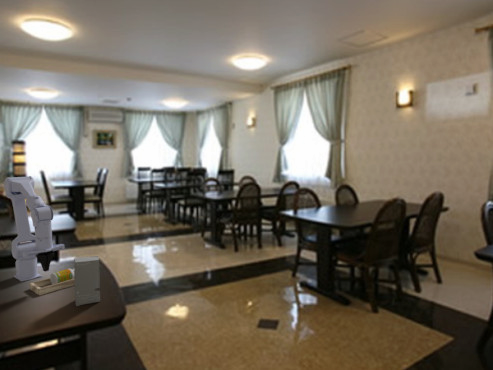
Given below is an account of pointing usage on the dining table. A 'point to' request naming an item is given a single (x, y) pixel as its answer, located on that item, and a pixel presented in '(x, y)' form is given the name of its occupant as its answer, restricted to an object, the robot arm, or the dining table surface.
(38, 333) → the dining table surface
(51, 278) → the supplement bottle
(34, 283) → the tray
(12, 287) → the dining table surface
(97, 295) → the skincare box
